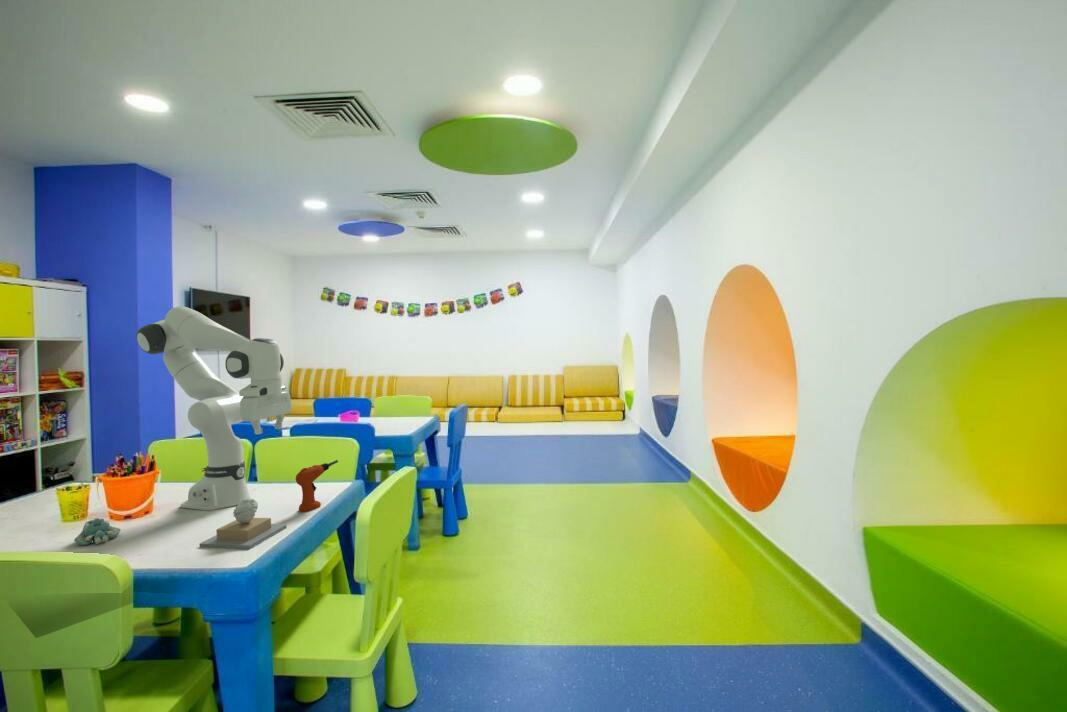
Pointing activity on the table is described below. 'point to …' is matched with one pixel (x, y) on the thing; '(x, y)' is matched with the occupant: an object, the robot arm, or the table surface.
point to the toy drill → (310, 485)
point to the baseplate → (246, 543)
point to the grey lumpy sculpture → (245, 510)
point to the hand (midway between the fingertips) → (268, 431)
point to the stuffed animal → (96, 532)
